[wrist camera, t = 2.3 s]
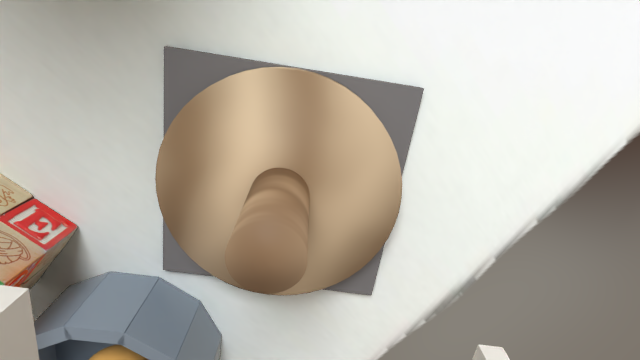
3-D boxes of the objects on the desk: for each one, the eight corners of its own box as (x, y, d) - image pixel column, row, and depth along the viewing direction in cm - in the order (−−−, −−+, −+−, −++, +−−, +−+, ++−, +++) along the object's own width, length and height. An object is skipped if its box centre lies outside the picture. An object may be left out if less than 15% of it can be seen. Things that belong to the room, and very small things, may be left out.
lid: (163, 269, 24) (100, 367, 17) (164, 46, 19) (76, 54, 12) (371, 294, 25) (393, 397, 18) (423, 88, 20) (483, 119, 13)
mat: (165, 266, 25) (163, 269, 24) (166, 46, 20) (163, 46, 19) (370, 291, 26) (371, 295, 25) (421, 87, 21) (423, 88, 20)
